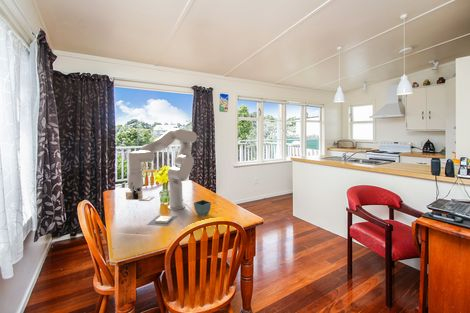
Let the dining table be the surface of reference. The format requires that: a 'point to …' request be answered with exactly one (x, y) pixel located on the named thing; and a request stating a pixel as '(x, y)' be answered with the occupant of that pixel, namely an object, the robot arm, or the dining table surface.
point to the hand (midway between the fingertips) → (137, 198)
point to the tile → (163, 219)
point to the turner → (140, 197)
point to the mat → (161, 223)
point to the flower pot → (202, 207)
